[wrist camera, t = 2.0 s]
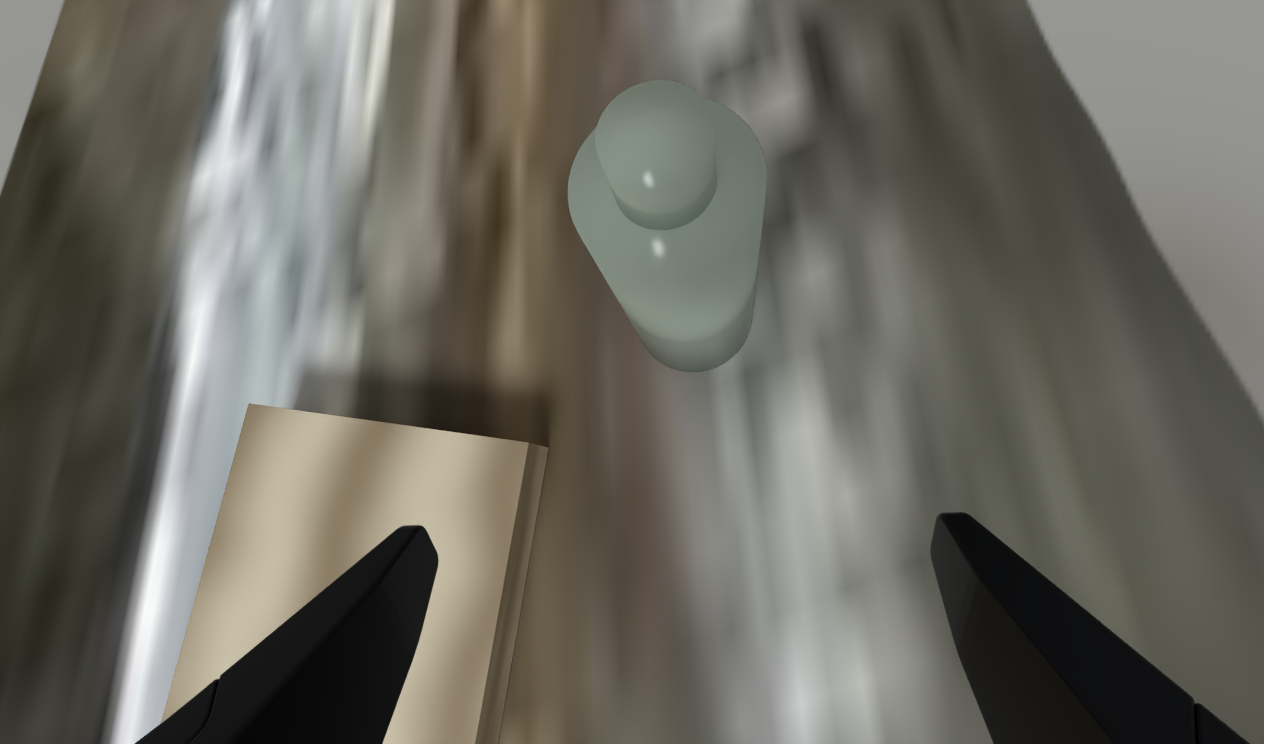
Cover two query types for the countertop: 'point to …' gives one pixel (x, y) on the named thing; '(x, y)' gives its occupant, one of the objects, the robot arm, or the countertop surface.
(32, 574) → the countertop surface
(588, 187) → the sage bottle
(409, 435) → the birch pad
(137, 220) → the countertop surface
